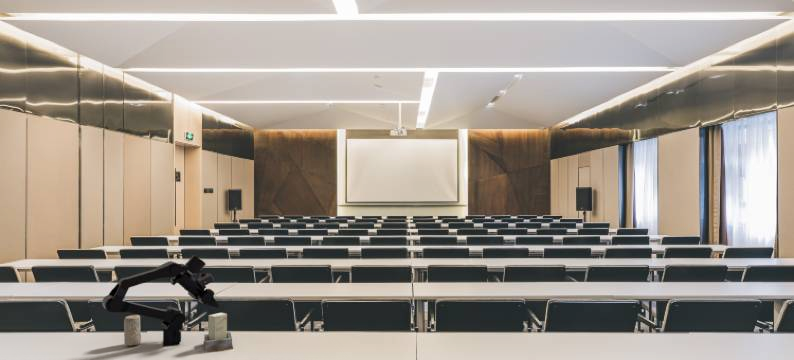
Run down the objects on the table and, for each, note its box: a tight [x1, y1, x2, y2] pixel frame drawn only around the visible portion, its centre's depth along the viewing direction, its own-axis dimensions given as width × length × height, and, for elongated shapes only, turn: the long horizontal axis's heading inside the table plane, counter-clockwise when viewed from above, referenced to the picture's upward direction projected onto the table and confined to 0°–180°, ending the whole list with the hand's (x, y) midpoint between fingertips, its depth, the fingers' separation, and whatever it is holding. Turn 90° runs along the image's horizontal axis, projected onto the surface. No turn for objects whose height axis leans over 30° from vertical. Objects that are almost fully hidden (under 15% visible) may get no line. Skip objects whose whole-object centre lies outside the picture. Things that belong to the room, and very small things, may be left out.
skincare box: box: [207, 312, 228, 341], centre depth 214 cm, size 6×4×12 cm
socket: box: [203, 331, 234, 353], centre depth 214 cm, size 11×11×4 cm
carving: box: [123, 314, 142, 347], centre depth 216 cm, size 6×8×12 cm
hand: (214, 304), depth 229 cm, fingers open, 9 cm apart
